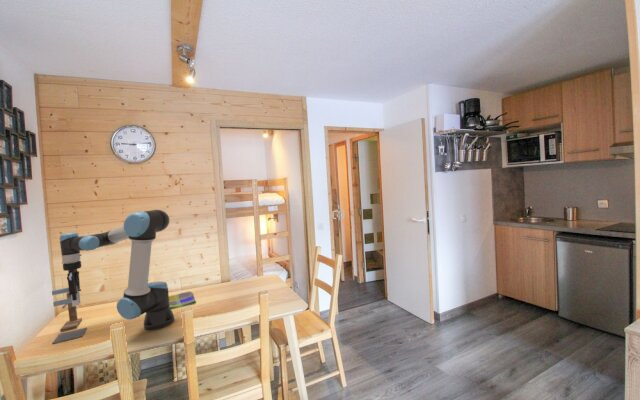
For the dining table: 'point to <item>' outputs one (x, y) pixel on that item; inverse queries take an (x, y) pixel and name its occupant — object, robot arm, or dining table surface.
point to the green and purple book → (181, 300)
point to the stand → (71, 317)
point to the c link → (65, 301)
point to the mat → (69, 335)
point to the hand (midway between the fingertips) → (76, 304)
